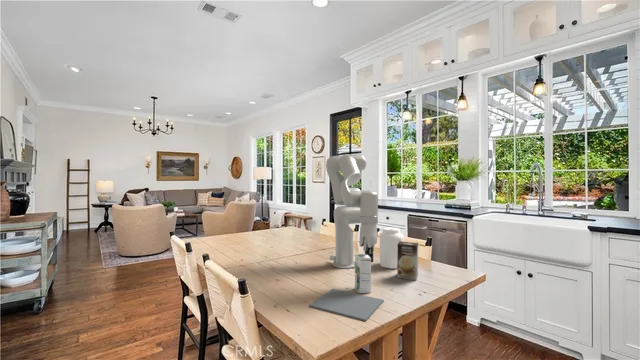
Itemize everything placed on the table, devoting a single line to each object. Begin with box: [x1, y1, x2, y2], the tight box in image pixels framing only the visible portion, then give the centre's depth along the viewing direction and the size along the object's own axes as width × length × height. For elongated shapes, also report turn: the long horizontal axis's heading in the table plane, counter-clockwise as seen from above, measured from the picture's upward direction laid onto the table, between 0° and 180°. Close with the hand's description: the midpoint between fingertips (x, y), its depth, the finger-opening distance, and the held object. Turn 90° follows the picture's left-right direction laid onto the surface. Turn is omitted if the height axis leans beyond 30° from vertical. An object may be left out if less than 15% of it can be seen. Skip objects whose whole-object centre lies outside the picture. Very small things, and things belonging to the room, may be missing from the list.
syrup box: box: [354, 253, 372, 294], centre depth 123 cm, size 6×6×14 cm
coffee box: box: [396, 241, 419, 281], centre depth 139 cm, size 9×6×16 cm
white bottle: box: [379, 226, 405, 270], centre depth 157 cm, size 12×12×20 cm
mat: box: [309, 288, 385, 322], centre depth 110 cm, size 22×18×1 cm
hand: (369, 261), depth 129 cm, fingers closed
